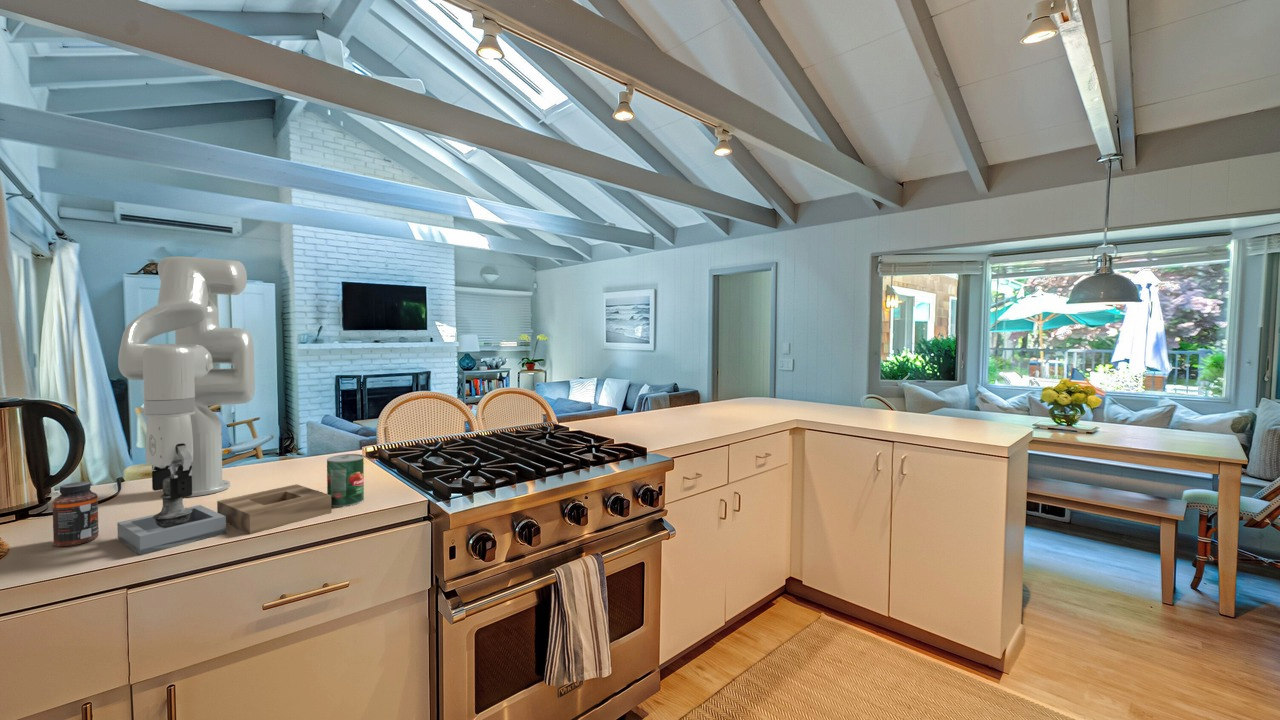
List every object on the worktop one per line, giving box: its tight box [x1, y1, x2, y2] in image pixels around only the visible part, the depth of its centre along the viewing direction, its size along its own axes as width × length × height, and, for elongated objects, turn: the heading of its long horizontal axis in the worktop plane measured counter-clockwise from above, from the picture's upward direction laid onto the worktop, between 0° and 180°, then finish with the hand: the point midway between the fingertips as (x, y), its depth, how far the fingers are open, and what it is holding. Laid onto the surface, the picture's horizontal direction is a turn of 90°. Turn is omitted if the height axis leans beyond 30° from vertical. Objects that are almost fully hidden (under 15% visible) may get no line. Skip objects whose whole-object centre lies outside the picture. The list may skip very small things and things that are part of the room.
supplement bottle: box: [52, 481, 99, 547], centre depth 100 cm, size 6×6×11 cm
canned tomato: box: [326, 453, 365, 508], centre depth 126 cm, size 8×8×11 cm
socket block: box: [216, 484, 332, 535], centre depth 116 cm, size 16×16×4 cm
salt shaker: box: [153, 474, 192, 529], centre depth 103 cm, size 6×6×12 cm
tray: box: [116, 504, 227, 556], centre depth 103 cm, size 13×13×4 cm
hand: (172, 493), depth 103 cm, fingers open, 9 cm apart
